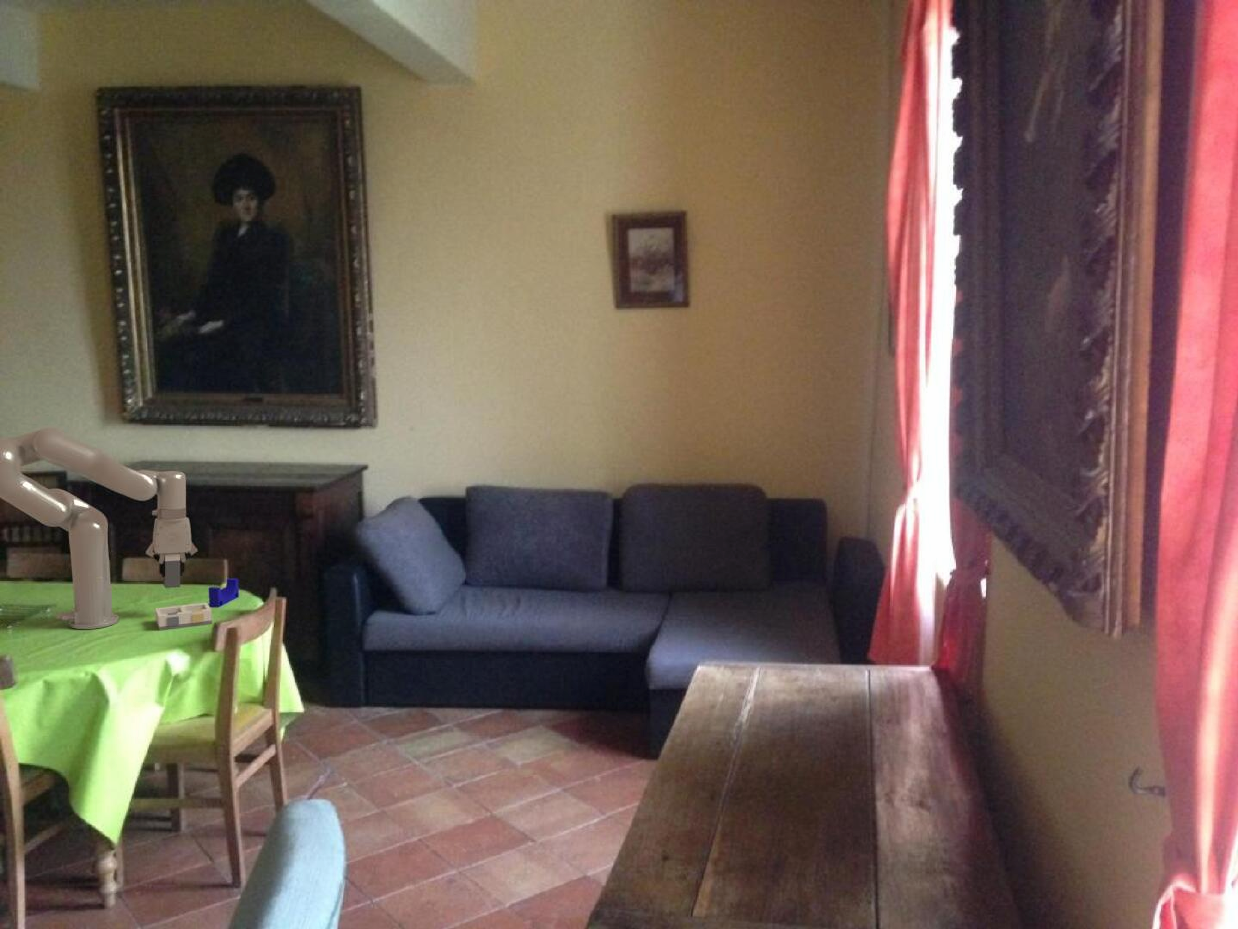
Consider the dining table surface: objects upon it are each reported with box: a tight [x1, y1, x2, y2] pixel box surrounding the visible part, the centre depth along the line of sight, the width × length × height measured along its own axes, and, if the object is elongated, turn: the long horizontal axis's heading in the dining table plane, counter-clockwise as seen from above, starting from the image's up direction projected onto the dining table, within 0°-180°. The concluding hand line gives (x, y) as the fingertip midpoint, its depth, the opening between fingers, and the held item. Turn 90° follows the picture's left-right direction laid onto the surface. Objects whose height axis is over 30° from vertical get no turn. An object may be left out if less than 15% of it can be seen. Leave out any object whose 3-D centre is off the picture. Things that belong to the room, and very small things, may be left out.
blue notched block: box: [208, 577, 240, 608], centre depth 327 cm, size 12×4×6 cm, turn 171°
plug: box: [163, 553, 181, 589], centre depth 310 cm, size 4×4×10 cm
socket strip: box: [154, 602, 213, 631], centre depth 304 cm, size 14×9×4 cm, turn 119°
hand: (171, 574), depth 310 cm, fingers closed on plug, 4 cm apart
